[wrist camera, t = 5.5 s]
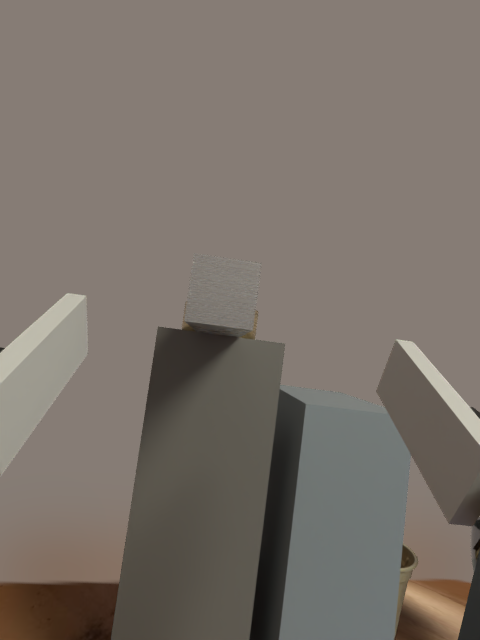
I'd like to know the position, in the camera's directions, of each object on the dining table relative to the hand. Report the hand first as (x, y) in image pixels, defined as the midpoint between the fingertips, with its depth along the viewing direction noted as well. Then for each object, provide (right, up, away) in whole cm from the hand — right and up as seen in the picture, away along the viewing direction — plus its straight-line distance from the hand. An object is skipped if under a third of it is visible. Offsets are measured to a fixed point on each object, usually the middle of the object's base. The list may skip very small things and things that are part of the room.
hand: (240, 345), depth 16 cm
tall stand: (-6, -30, +15) cm, 34 cm away
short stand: (+5, -32, +16) cm, 36 cm away
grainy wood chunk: (-2, 0, +12) cm, 12 cm away
